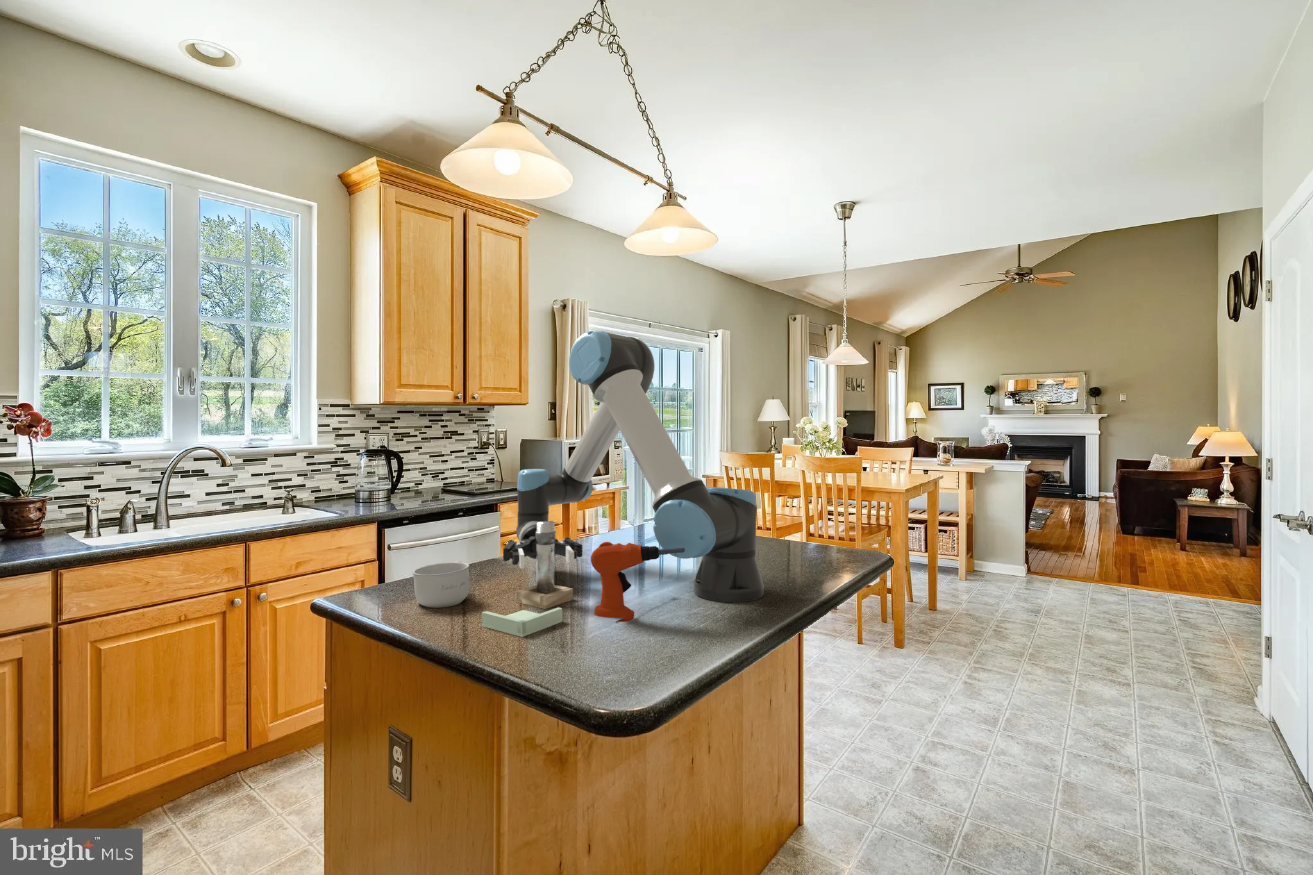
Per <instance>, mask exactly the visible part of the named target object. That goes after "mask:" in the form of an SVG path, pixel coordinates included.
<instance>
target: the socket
mask: <svg viewBox="0 0 1313 875" xmlns="http://www.w3.org/2000/svg"><path fill="white" fill-rule="evenodd" d="M572 600H574V588H573V587H572V588H571V587H567V586H562V585H556V584H554V592H552V593H549V594H541V593H536V585H533V586H530V587H527V588H523V589H519V590H516V603H518V604H523V605H525V606H526V605H528V606H532V607H537V608H541V609H545V610H546V609H549V608H552V607H555V606H557V605H561V604H564V603H566V602H570V601H572Z"/></svg>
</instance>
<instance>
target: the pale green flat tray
mask: <svg viewBox="0 0 1313 875" xmlns="http://www.w3.org/2000/svg"><path fill="white" fill-rule="evenodd" d="M481 616H482V617H481V625H482V626H481V627H484V628H488V629H492V630H495V631H499V632H503V633H505V634H510V635H513V636H516V637H520V638H523V637H525V636H528V635H530V634H533V633H536V632H539V631H542V630H544V629H547V628H549V627H552V626H555V625H557V624H560V623H563V608H561V607H555V608H551V609H550V610H547V611H544V612H541V613H538V612H534V611H530V610H526V609H522V610H519V611H516V612H514V613H511V614H507V615H504V614H499V613H495V612H491V611H488V610H486V611H482V613H481Z"/></svg>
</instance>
